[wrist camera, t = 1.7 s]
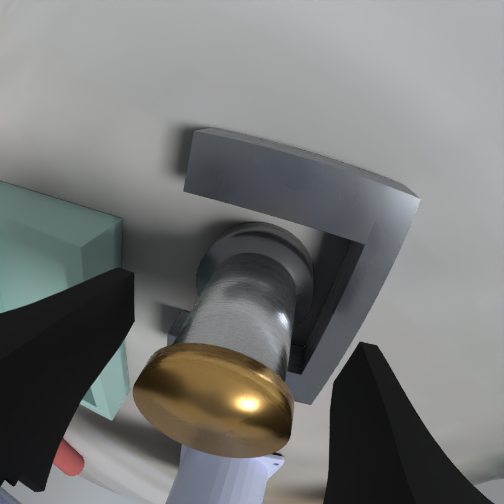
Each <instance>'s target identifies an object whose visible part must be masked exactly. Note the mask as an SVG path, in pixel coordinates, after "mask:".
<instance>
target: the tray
mask: <svg viewBox="0 0 504 504" xmlns="http://www.w3.org/2000/svg"><path fill="white" fill-rule="evenodd" d="M122 220H123V219H122V218H118V217H115V216H112V215H109V214H105V213H102V212H99V211H96V210H92V209H89V208H86V207H83V206H79V205H76V204H73V203H70V202H66V201H63V200H60V199H57V198H53V197H50V196H47V195H44V194H40V193H37V192H34V191H31V190H28V189H24V188H21V187H18V186H15V185H12V184H8V183H5V182H2V181H0V313H3V312H6V311H9V310H13V309H16V308H19V307H22V306H25V305H28V304H31V303H34V302H36V301H38V300H41V299H43V298H46V297H48V296H51V295H54V294H56V293H59V292H61V291H63V290H66V289H68V288H70V287H72V286H75V285H77V284H79V283H82V282H84V281H86V280H88V279H91V278H93V277H95V276H97V275H100V274H102V273H104V272H107V271H109V270H112V269H114V268H117V267H119V268H122ZM129 391H130V385H129V377H128V369H127V359H126V349H125V339H124V341H123V343H122V344H121V346H120V347H119V349H118V350H117V352H116V353H115V354H114V356H113V357H112V358H111V360H110V361H109V362H108V364H107V365H106V366H105V368H104V369H103V371H102V372H101V373H100V375H99V376H98V377H97V379H96V380H95V382H94V383H93V384H92V386H91V387H90V388H89V390H88V391H87V393H86V394H85V396H84V397H83V399H82V401H81V402H80V404H81V405H83V406H85V407H87V408H88V409H90V410H92V411H94V412H96V413H98V414H100V415H101V416H103V417H105V418H107V419H109V420H111V421H112V420H113V418H114V417H115V415H116V413H117V412H118V410H119V408H120V406H121V405H122V403H123V401H124V400H125V398H126V396H127V395H128V393H129Z"/></svg>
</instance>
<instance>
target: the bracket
mask: <svg viewBox="0 0 504 504" xmlns="http://www.w3.org/2000/svg"><path fill="white" fill-rule="evenodd" d="M184 192H188V193H192V194H195V195H199V196H203V197H207V198H210V199H214V200H218V201H221V202H225V203H229V204H232V205H236V206H240V207H243V208H247V209H250V210H254V211H257V212H261V213H264V214H268V215H271V216H274V217H278V218H281V219H285V220H288V221H291V222H295V223H298V224H301V225H305V226H308V227H311V228H314V229H318V230H321V231H324V232H327V233H331V234H334V235H337V236H340V237H343V238H346V239H349V240H351V243H350V245H349V248H348V250H347V253H346V255H345V257H344V260H343V262H342V265H341V267H340V269H339V272H338V274H337V276H336V279H335V281H334V283H333V286H332V288H331V290H330V293H329V295H328V297H327V299H326V301H325V304H324V306H323V308H322V310H321V312H320V315H319V317H318V319H317V321H316V323H315V325H314V327H313V329H312V331H311V334H310V336H309V338H308V340H307V342H306V344H305V346H304V347H302V346H299V345H295V344H291V346H290V353H289V360H288V368H287V375H286V382H285V383H286V384H287V386H288V387H289V389H290V391H291V393H292V395H293V399H294V401H295V402H300V403H304V404H309V405H311V404H312V403H313V401H314V400H315V398H316V397H317V395H318V394H319V392H320V391H321V390H322V388H323V387H324V385H325V384H326V382H327V381H328V379H329V378H330V376H331V374H332V373H333V371H334V370H335V368H336V367H337V365H338V364H339V362H340V360H341V359H342V357H343V355H344V354H345V352H346V351H347V349H348V347H349V346H350V344H351V342H352V341H353V339H354V337H355V335H356V334H357V332H358V330H359V329H360V327H361V325H362V323H363V322H364V320H365V318H366V316H367V314H368V312H369V311H370V309H371V307H372V305H373V303H374V301H375V299H376V298H377V296H378V294H379V292H380V290H381V288H382V286H383V284H384V282H385V280H386V278H387V276H388V274H389V272H390V270H391V268H392V266H393V264H394V261H395V259H396V257H397V255H398V253H399V251H400V249H401V246H402V244H403V242H404V240H405V237H406V235H407V233H408V230H409V228H410V226H411V223H412V221H413V219H414V216H415V214H416V211H417V209H418V206H419V204H420V201H421V199H420V198H419V197H418V196H417V195H416V194H414V193H413V192H412V191H411V190H410V189H409V188H407V187H406V186H405V185H403V184H400V183H398V182H395V181H393V180H390V179H387V178H385V177H382V176H380V175H377V174H374V173H371V172H369V171H366V170H363V169H360V168H357V167H355V166H352V165H349V164H346V163H343V162H340V161H337V160H334V159H331V158H328V157H324V156H321V155H318V154H315V153H311V152H308V151H305V150H301V149H298V148H294V147H291V146H287V145H284V144H280V143H276V142H272V141H269V140H265V139H261V138H257V137H253V136H249V135H244V134H240V133H236V132H231V131H227V130H222V129H218V128H213V127H212V128H206V129H200V130H195V131H194V134H193V139H192V144H191V150H190V155H189V161H188V167H187V173H186V179H185V185H184ZM189 314H190V312H187V311H184V310H182V312H181V313H180V315H179V317H178V318H177V320H176V321H175V323H174V325H173V326H172V328H171V330H170V331H169V333H168V340H167V346H169V345H172V343H173V342H174V340H175V338H176V336H177V335H178V333H179V331H180V329H181V328H182V326H183V324H184V322H185V321H186V319H187V317H188V316H189Z"/></svg>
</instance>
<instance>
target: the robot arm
mask: <svg viewBox="0 0 504 504" xmlns="http://www.w3.org/2000/svg"><path fill="white" fill-rule="evenodd" d="M134 321H135V315H134V273H133V272H130V271H127V270H125V269H122V268H119V267H117V268H114V269H112V270H109V271H107V272H104V273H102V274H100V275H97V276H95V277H93V278H91V279H88V280H86V281H84V282H82V283H79V284H77V285H75V286H72V287H70V288H68V289H66V290H63V291H61V292H59V293H56V294H54V295H51V296H48V297H46V298H43V299H41V300H38V301H36V302H34V303H31V304H28V305H25V306H22V307H19V308H16V309H13V310H9V311H6V312H3V313H0V504H21V503H20V502H19V501H18V500H16V499H15V498H14V497H13V496H11V495H10V494H9V493H8V492H7V491H5V490H4V489H3V488H2V487H1V485H2V483H3V482H4V480H6V481H7V482H8V483H9V484H10V485H12V486H15V485H16V483H17V481H18V480H19V481H20V482H21V483H23V484H24V485H26V486H27V487H29V488H30V489H31V490H33V491H34V492H41V491H44V490H45V487H46V483H47V479H48V476H49V473H50V469H51V466H52V464H53V461H54V458H55V456H56V453H57V451H58V448H59V445H60V443H61V441H62V439H63V436H64V434H65V432H66V430H67V428H68V425H69V423H70V421H71V419H72V417H73V416H74V414H75V412H76V410H77V408H78V406H79V404H80V402H81V401H82V399H83V397H84V396H85V394H86V393H87V391H88V390H89V388H90V387H91V386H92V384H93V383H94V382H95V380H96V379H97V377H98V376H99V375H100V373H101V372H102V371H103V369H104V368H105V366H106V365H107V364H108V362H109V361H110V360H111V358H112V357H113V356H114V354H115V353H116V352H117V350H118V349H119V347H120V346H121V344H122V343H123V341H124V339H125V337H126V336H127V334H128V332H129V330H130V328H131V327H132V325H133V323H134ZM284 461H285V458H284V457H282V456H277V455H273V454H269V455H266V456H262V457H256V458H228V457H221V456H216V455H212V454H207V453H204V452H201V451H198V450H195V449H192V448H190V447H187V446H185V445H183V444H182V446H181V455H180V464H179V470H178V473H177V475H176V478H175V481H174V483H173V486H172V488H171V491H170V493H169V496H168V498H167V501H166V504H262V501H263V497H264V492H265V487H266V482H267V480H268V479H269V478H270V477H271V476H272V475H273V474H274V473H275V472H276V471H277V470H278V469H279V468H280V467H281V466H282V465H283V464H284ZM323 504H494V503H493V502H491V501H490V500H489V499H487V498H486V497H485V496H484V495H483V494H482V493H481V492H480V491H478V489H476V488H475V487H474V486H473V485H472V484H471V483H470V482H469V481H468V480H467V479H466V478H465V477H464V475H463V474H462V473H461V472H460V471H459V470H458V469H457V468H456V466H455V465H454V464H453V463H452V462H451V461H450V459H449V458H448V457H447V456H446V454H445V453H444V452H443V450H442V449H441V448H440V446H439V445H438V444H437V442H436V441H435V440H434V438H433V437H432V435H431V434H430V433H429V431H428V430H427V428H426V427H425V425H424V423H423V422H422V420H421V419H420V417H419V416H418V414H417V412H416V411H415V409H414V407H413V406H412V404H411V402H410V401H409V399H408V397H407V396H406V394H405V392H404V390H403V389H402V387H401V385H400V383H399V382H398V380H397V378H396V376H395V375H394V373H393V371H392V369H391V368H390V366H389V364H388V362H387V361H386V359H385V357H384V356H383V354H382V352H381V351H380V349H379V348H378V346H377V345H373V344H368V343H364V342H359V344H358V345H357V347H356V349H355V350H354V352H353V353H352V355H351V357H350V358H349V360H348V361H347V363H346V364H345V366H344V367H343V369H342V370H341V372H340V373H339V375H338V376H337V378H336V379H335V381H334V383H333V390H332V397H331V406H330V440H329V471H328V481H327V487H326V492H325V498H324V503H323Z"/></svg>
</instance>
